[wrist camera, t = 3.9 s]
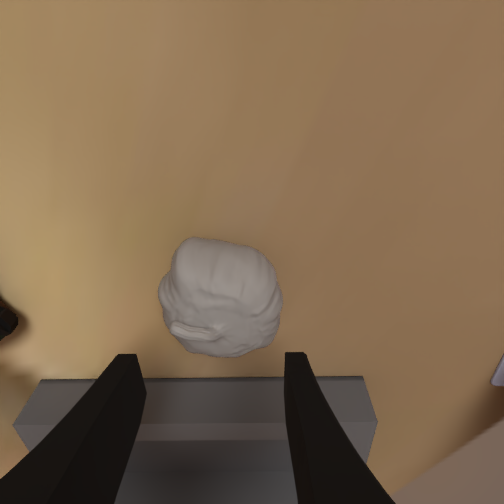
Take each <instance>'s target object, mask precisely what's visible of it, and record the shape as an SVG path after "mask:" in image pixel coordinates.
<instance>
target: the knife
mask: <svg viewBox="0 0 504 504" xmlns="http://www.w3.org/2000/svg"><path fill="white" fill-rule="evenodd" d="M17 325H18V317H17V316H16V314H15V313H14V312H12V311H11V310H10V309H9V308H8V307H7V306H6V305H5V304H4V303H3V302H1V301H0V341H1V340H2V339H3V338H4V337H5V336H7V335H9V334H11V333H12V332H13V330H14V329H15V328H16V327H17Z"/></svg>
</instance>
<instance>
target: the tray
mask: <svg viewBox="0 0 504 504" xmlns="http://www.w3.org/2000/svg"><path fill="white" fill-rule="evenodd" d="M315 378H316V380H317V382H318V384H319V386H320V389H321V391H322V393H323V394H324V396H325V398H326V400H327V402H328V404H329V406H330V408H331V409H332V411H333V413H334V415H335V417H336V418H337V420H338V422H339V423H340V425H341V427H342V428H343V430H344V432H345V433H346V435H347V437H348V438H349V440H350V441H351V443H352V444H353V446H354V448H355V449H356V451H357V452H358V454H359V455H360V457H361V458H362V459H363V461H364V462H365V464H366V463H367V459H368V455H369V452H370V448H371V444H372V441H373V437H374V434H375V430H376V426H377V423H378V421H377V418H376V415H375V412H374V409H373V406H372V403H371V400H370V397H369V394H368V391H367V388H366V385H365V382H364V379H363V376H338V377H315ZM96 380H97V379H63V380H41V381H40V383H39V384H38V386H37V387H36V389H35V390H34V392H33V394H32V395H31V397H30V398H29V400H28V401H27V403H26V405H25V406H24V408H23V409H22V411H21V413H20V414H19V416H18V417H17V419H16V420H15V422H14V424H13V427H14V428H15V430H16V431H17V433H18V435H19V436H20V438H21V439H22V441H23V442H24V444H25V446H26V447H27V449H28V450H29V452H30V451H31V450H33V449H34V448H35V447H36V446H37V445H38V444H39V443H40V442H41V441H42V440H43V439H44V438H45V436H46V435H47V434H48V433H49V432H50V431H51V430H52V429H53V428H54V427H55V426H56V425H57V424H58V423H59V422H60V421H61V420H62V419H63V418H64V416H65V415H66V414H67V413H68V412H69V411H70V410H71V409H72V408H73V406H74V405H75V404H76V403H77V402H78V401H79V400H80V399H81V397H82V396H83V395H84V394H85V393H86V392H87V391H88V389H89V388H90V387H91V386H92V385H93V383H94V382H95V381H96ZM143 380H144V384H145V388H146V391H147V395H146V400H145V405H144V410H143V415H142V419H141V424H140V427H139V430H138V433H137V436H136V439H135V442H134V445H133V448H132V451H131V454H130V457H129V460H128V463H127V466H126V469H125V472H124V475H123V478H122V481H121V484H120V487H119V490H118V493H117V496H116V500H115V503H114V504H298V500H297V493H296V486H295V480H294V474H293V467H292V461H291V454H290V448H289V442H288V435H287V429H286V421H285V406H284V377H246V378H154V379H143Z"/></svg>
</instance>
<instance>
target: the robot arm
mask: <svg viewBox="0 0 504 504" xmlns="http://www.w3.org/2000/svg"><path fill="white" fill-rule="evenodd" d="M490 382H491V384H492V385H494V386H504V354H503V356H502V358H501V360H500V362H499V364H498V366H497V368H496V370H495V372H494V374H493V376H492V378H491V381H490ZM146 395H147V391H146V388H145V384H144V380H143V377H142V373H141V370H140V366H139V362H138V359H137V355H136V354H118V355H117V356H116V357H115V358H114V359H113V361H112V362H111V363H110V364H109V365H108V367H107V368H106V369H105V370H104V371H103V373H102V374H101V375H100V376H99V377H98V379H97V380H96V381H95V382H94V383H93V385H92V386H91V387H90V388H89V389H88V391H87V392H86V393H85V394H84V395H83V396H82V397H81V399H80V400H79V401H78V402H77V403H76V404H75V405H74V406H73V408H72V409H71V410H70V411H69V412H68V413H67V414H66V415H65V416H64V418H63V419H62V420H61V421H60V422H59V423H58V424H57V425H56V426H55V427H54V428H53V429H52V430H51V431H50V432H49V433H48V434H47V435H46V436H45V438H44V439H43V440H42V441H41V442H40V443H39V444H38V445H37V446H36V447H35V448H34V449H33V450H31V451H30V452H29V453H28V454H27V455H26V456H25V457H24V458H23V459H22V460H21V461H20V462H19V463H18V464H17V465H16V466H15V467H13V468H12V469H11V470H10V471H9V472H8V473H7V474H6V475H5V476H3V477H2V478H1V479H0V504H114V503H115V500H116V496H117V493H118V490H119V487H120V484H121V481H122V478H123V475H124V472H125V469H126V466H127V463H128V460H129V457H130V454H131V451H132V448H133V445H134V442H135V439H136V436H137V433H138V430H139V427H140V424H141V419H142V415H143V410H144V405H145V400H146ZM284 406H285V421H286V429H287V435H288V442H289V448H290V454H291V461H292V467H293V474H294V480H295V486H296V493H297V500H298V504H395V502H394V501H393V500H392V499H391V497H390V496H389V495H388V494H387V492H386V491H385V490H384V489H383V487H382V486H381V484H380V483H379V482H378V480H377V479H376V478H375V476H374V475H373V474H372V472H371V471H370V469H369V468H368V467H367V465H366V464H365V462H364V461H363V459H362V458H361V457H360V455H359V454H358V452H357V451H356V449H355V448H354V446H353V444H352V443H351V441H350V440H349V438H348V437H347V435H346V433H345V432H344V430H343V428H342V427H341V425H340V423H339V422H338V420H337V418H336V417H335V415H334V413H333V411H332V409H331V408H330V406H329V404H328V402H327V400H326V398H325V396H324V394H323V393H322V391H321V389H320V386H319V384H318V382H317V380H316V378H315V376H314V373H313V371H312V369H311V366H310V364H309V361H308V358H307V355H306V354H305V353H304V352H285V371H284Z"/></svg>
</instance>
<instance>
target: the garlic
mask: <svg viewBox="0 0 504 504" xmlns="http://www.w3.org/2000/svg"><path fill="white" fill-rule="evenodd" d="M158 298H159V301H160V303H161V305H162V308H163V318H164V322H165V324H166V326H167V327H168V329H169V330H170V333H171V334H172V335H174V336H175V337H176V339H177V340H178V341H179V342H180V343H181V344H182V345H183V346H184V348H185V349H186V350H187V351H189V352H191V353H199V354H206V355H209V356H214V357H240V356H241V355H243V354H245V353H248V352H250V351H252V350H254V349H258V348H263V347H266V346H268V345H269V344H270V343H271V342H272V341H273V339H274V337H275V335H276V333H277V330H278V327H279V324H280V311H281V309H282V305H283V296H282V292H281V289H280V287H279V285H278V282H277V277H276V272H275V269H274V267H273V265H272V264H271V263H270V262H269V260H268V259H267V258H266V257H265V255H263V254H262V253H261V252H259V251H258V250H256V249H254V248H252V247H249V246H246V245H237V244H234V243H229V242H225V241H221V240H215V239H204V238H198V237H191V238H188V239H186V240H185V241H183V242H182V243H181V245H180V246H179V247H178V248H177V250H176V251H175V253H174V255H173V258H172V263H171V270H170V271H169V272H168V273H167V274H166V275H165V276H164V277H163V278H162V280H161V282H160V284H159V287H158Z"/></svg>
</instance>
